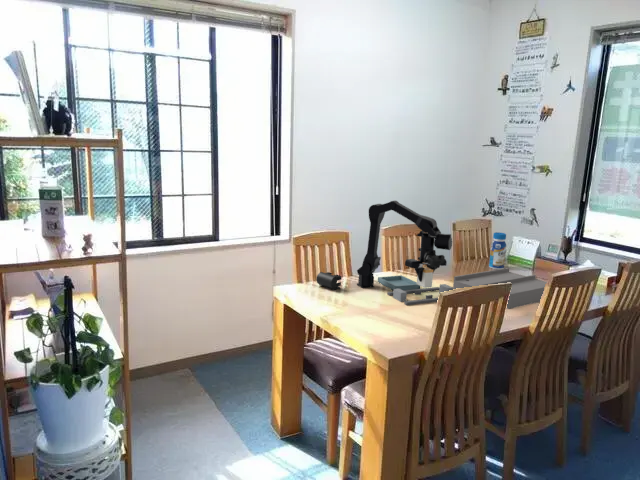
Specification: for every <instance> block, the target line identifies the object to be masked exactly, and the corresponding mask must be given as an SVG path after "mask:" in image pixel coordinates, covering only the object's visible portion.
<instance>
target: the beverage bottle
mask: <svg viewBox="0 0 640 480" xmlns="http://www.w3.org/2000/svg"><path fill="white" fill-rule="evenodd" d="M492 238H493V240H492V242H491V244H490V245H491V247H490V249H489V251H490V253H489V261H488V268H490V269H493V270H498V269H504V268H505V262H506V252H507V243H506V241H505V240H506V239H507V234H506V233H505V232H493V236H492Z"/></svg>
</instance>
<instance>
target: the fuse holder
mask: <svg viewBox="0 0 640 480" xmlns="http://www.w3.org/2000/svg"><path fill="white" fill-rule="evenodd" d="M436 290H439V292H438V293H439V294H441V293H440V292H444V291H449V290H453V286H450V285H449V284H446V283H442V284H441V283H440V284H439V286H432V287H427V288H424V287H422V288H420V289H412V290H401V289H394V291H393V290H392V291H387V293H386V294H387V295H388V296H391V297H392V298H393V299H395V300H397V301H398V302H399V303H401V302H402V303H403V302H404V304H403V305H405V306H414V305H420V304H430V303H438V302H437V300H438V297H434V295H433V294H426V295H425V298H422V299H413V300H407V296H408V295H410V294H414V295H415V296H416V295H422V293H429V292H428V291H431V292H437V291H436ZM453 291H454V290H453Z"/></svg>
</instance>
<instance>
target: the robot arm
mask: <svg viewBox="0 0 640 480" xmlns="http://www.w3.org/2000/svg"><path fill="white" fill-rule="evenodd" d="M389 211H393V212H395V213H397V214H399V215H400V216H401V217H404V218H406V219H407V220H409V221H410V222H412V223H413V224H415V225H416V227H417V228H418V229H419V230H420V231H419V232H418V233H417V234H416V237H420V247H418V251H419V256H418V257H417V259H414V258H409V259H406V260H405V262H404V266H405V267H408V268H411V269H414V271H415V273H416V277H417V276H418V278H419V281H420V282H422V274H423V270H424V268H423V267H424V266H426V267H428V268H431V269H433V274H434V272H435V271H436V270H437V269H439V268H440V266H441V267H442V266H447V265H448V264H447V262H448V261H447V259H446V258H445V257H446V256H445V255H444V254H439V255H437V252H436V249H440V250H446V251H451V249H452V247H453V237H452V233H442V232H441V231H440V229H439V227H438V223H437V220H436V219H434V218H433V217H429V216H426V215H422V214H419V213H417V212H416V211H414V210H412V209H411V208H409V207H408V206H406V205H404V204H402V203H400V202H399V201H398V200H390V201H389V202H385V203H375V204H372V205H371V206H369V208H368V219H369V222H370V224H369V225H370V226H369V234H368V242H367V252H366V254H365V256H364V258H363V261H362V264H361V267H359V268H358V269H357V270H356V272H357V275H358V283H356V286H358V287H360V288H363V289H367V288H368V289H369V288H375V285H374V282H375V277H374V273H375V271H376V270H377V269H378V268H379V267H380V266H381V262H380V261H381V258H382V257H381V256H379V255H378V247H379V240H380V230H381V225H382V224H381V223H382V222H383V220H384V217H385V214H386V212H389ZM435 247H436V249H434V248H435Z"/></svg>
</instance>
